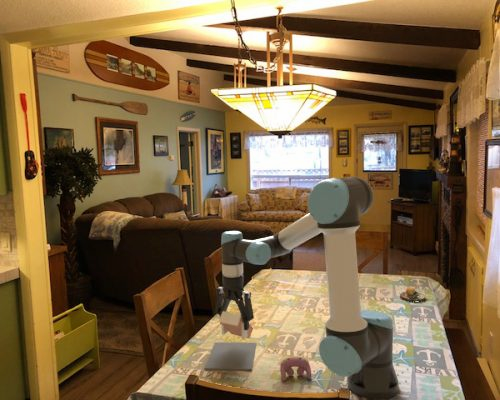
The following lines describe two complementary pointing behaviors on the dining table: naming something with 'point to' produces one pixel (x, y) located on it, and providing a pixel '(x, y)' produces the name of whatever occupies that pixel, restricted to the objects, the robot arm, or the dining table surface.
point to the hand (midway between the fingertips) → (234, 335)
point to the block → (233, 323)
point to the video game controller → (294, 362)
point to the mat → (231, 356)
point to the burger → (412, 295)
